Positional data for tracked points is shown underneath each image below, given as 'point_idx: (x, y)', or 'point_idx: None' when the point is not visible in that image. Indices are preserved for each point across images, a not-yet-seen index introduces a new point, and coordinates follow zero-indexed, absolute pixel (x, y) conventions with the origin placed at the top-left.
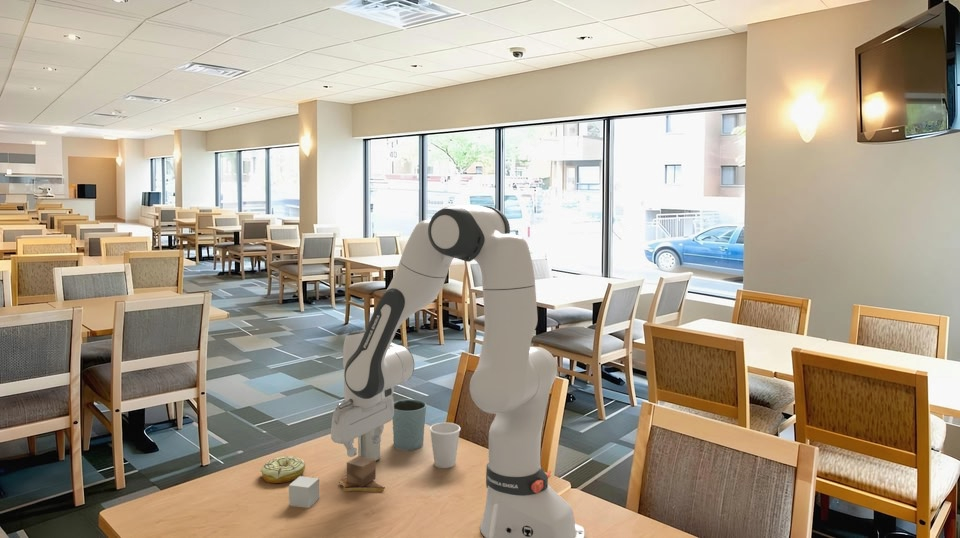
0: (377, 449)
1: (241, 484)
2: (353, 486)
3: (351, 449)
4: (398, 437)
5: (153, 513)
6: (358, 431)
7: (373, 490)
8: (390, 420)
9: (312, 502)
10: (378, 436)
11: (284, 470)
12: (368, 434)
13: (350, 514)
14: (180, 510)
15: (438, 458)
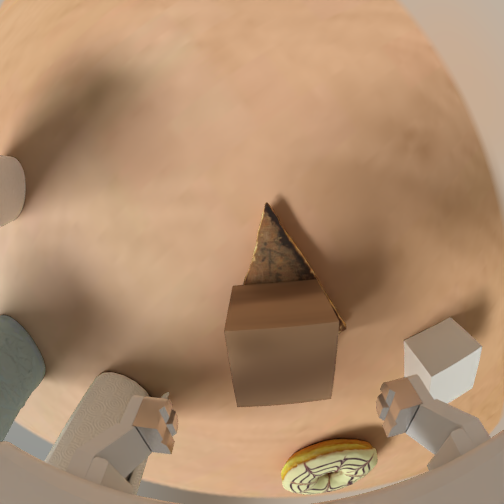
0: (100, 394)
1: (386, 460)
2: None
3: (442, 403)
4: (26, 376)
5: None
6: (469, 495)
7: (292, 240)
8: (10, 447)
9: (438, 328)
10: (138, 429)
11: (362, 460)
12: None
13: (445, 195)
14: None
15: (6, 186)
